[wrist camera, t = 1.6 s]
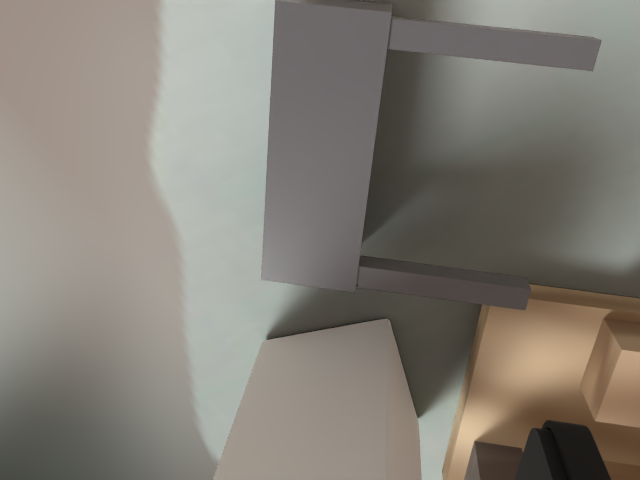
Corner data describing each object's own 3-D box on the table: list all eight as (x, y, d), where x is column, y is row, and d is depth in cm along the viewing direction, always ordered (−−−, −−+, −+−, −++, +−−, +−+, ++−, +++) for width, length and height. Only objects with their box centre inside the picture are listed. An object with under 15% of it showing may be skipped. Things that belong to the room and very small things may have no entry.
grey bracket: (281, 231, 29) (261, 279, 25) (297, -6, 25) (275, 0, 20) (504, 260, 29) (524, 315, 24) (565, 21, 24) (604, 34, 19)
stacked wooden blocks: (488, 278, 29) (526, 410, 20) (786, 317, 28) (958, 473, 19) (442, 471, 34) (457, 637, 26) (688, 509, 33) (788, 695, 25)
